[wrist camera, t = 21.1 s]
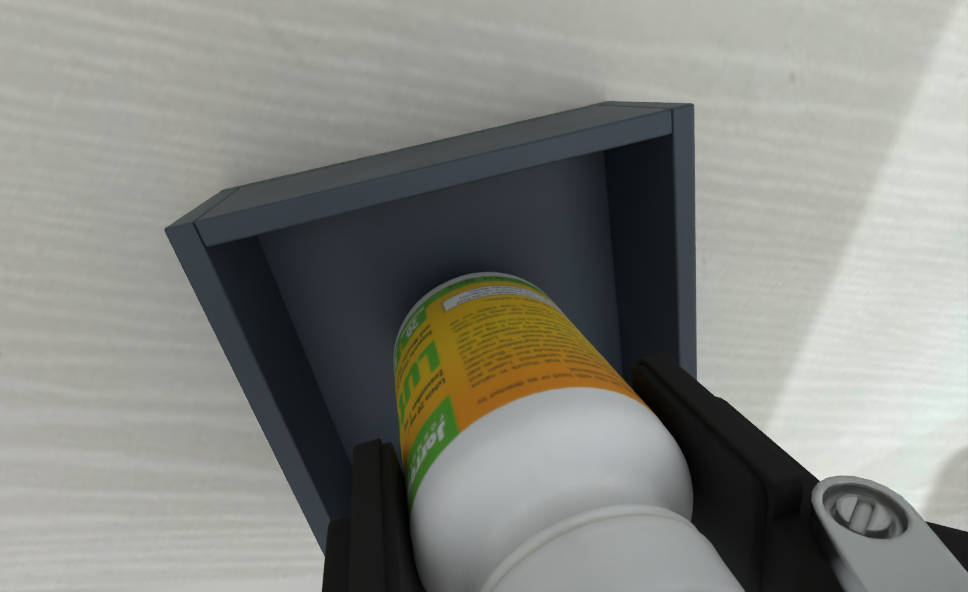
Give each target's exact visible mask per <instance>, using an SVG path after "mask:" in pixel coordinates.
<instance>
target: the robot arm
mask: <svg viewBox="0 0 968 592" xmlns="http://www.w3.org/2000/svg"><path fill="white" fill-rule="evenodd" d="M631 375H632V388H633V391H634V392H635V393H636V394H637V395H638V396H639V397H640V398H641V399H642V400H643V402H644V403H645V404H646V405H647V406H648V407H649V408H650V409H651V410H652V411H653V413H654V414H655V415H656V416H657V417H658V418H659V420H660V421H661V422H662V424H663V425H664V426H665V428H666V429H667V430H668V431H669V433H670V434H671V435H672V436H673V438H674V439H675V441H676V442H677V444H678V446H679V447H680V449H681V451H682V453H683V455H684V457H685V459H686V462H687V465H688V468H689V471H690V475H691V480H692V487H693V511H692V517H691V523H692V524H693V525H694V526H695V527H696V529H697V530H698V531H699V532H700V533H701V534H702V535H704V536H705V537H706V538H707V540H708V541H709V542H710V543H711V544H712V545H713V546H714V548H715V550H716V551H717V553H718V554H719V556H720V557H721V559H722V560H723V562H724V563H725V565H726V566H727V567H728V569H729V570H730V571H731V573H732V574H733V575H734V577H735V578H736V580H737V581H738V582H739V584H740V585H741V586H742V588H743V589H744V591H745V592H968V532H966V531H962V530H958V529H954V528H950V527H946V526H942V525H938V524H934V523H930V522H926V521H924V520H923V519H922V517H921V516H920V515H919V514H918V513H917V511H916V510H915V509H914V508H913V507H912V506H911V505H910V504H909V503H908V502H907V501H906V500H905V499H904V498H903V497H902V496H901V495H899V494H897V493H896V492H894V491H893V490H891V489H889V488H888V487H886V486H884V485H881V484H879V483H876V482H874V481H871V480H868V479H864V478H859V477H855V476H834V477H829V478H826V479H824V480H822V481H819V480H818V479H817V478H816V477H815V476H813V475H812V474H811V473H810V472H809V471H807V470H806V469H805V468H804V467H803V466H802V465H800V464H799V463H798V462H797V461H796V460H795V459H793V458H792V457H791V456H790V455H789V454H788V453H786V452H785V451H784V450H783V449H782V448H780V447H779V446H778V445H777V444H776V443H775V442H773V441H772V440H771V439H770V438H769V437H768V436H766V435H765V434H764V433H763V432H762V431H761V430H759V429H758V428H757V427H756V426H755V425H753V424H752V423H751V422H750V421H749V420H748V419H746V418H745V417H744V416H743V415H742V414H741V413H739V412H738V411H737V410H736V409H735V408H734V407H732V406H731V405H730V404H729V403H728V402H726V401H725V400H723V399H722V398H719V397H715V396H714V395H713V394H712V393H711V392H709V391H708V390H707V389H706V388H705V387H704V386H702V385H701V384H700V383H699V382H698V381H697V380H696V379H694V378H693V377H692V376H691V375H690V374H689V373H687V372H686V371H685V370H684V369H683V368H682V367H680V366H679V365H678V364H677V363H676V362H675V361H674V360H672V359H671V358H670V357H669V356H668V355H667V354H665V353H663V352H660V353H657V354H654V355H650V356H647V357H644V358H640V359H639V360H638V361H637V366H636V367H633V368H632V370H631ZM322 592H426V590H425V589H424V587H423V585H422V583H421V580H420V577H419V574H418V572H417V568H416V564H415V560H414V555H413V547H412V541H411V536H410V531H409V519H408V509H407V499H406V489H405V480H404V475H403V473H402V470H401V467H400V464H399V461H398V458H397V456H396V453H395V450H394V447H393V445H392V443H391V442H388V443H385V444H383V443H382V441H381V439H380V438H378V439H375V440H371V441H368V442H365V443H361V444H358V445H355V446H354V448H353V472H352V501H351V514H350V515H346V516H343V517H340V518H337V519H334V520H331V521H330V523H329V524H328V530H327V540H326V551H325V563H324V574H323V586H322Z"/></svg>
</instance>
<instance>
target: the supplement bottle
mask: <svg viewBox="0 0 968 592" xmlns="http://www.w3.org/2000/svg"><path fill="white" fill-rule="evenodd" d="M393 368H394V381H395V391H396V400H397V410H398V420H399V432H400V445H401V452H402V461H403V471H404V480H405V489H406V499H407V509H408V519H409V531H410V536H411V541H412V547H413V555H414V560H415V564H416V568H417V572H418V574H419V577H420V580H421V583H422V585H423V587H424V589H425V590H426V592H745V591H744V589H743V588H742V586H741V585H740V584H739V582H738V581H737V580H736V578H735V577H734V575H733V574H732V573H731V571H730V570H729V569H728V567H727V566H726V565H725V563H724V562H723V560H722V559H721V557H720V556H719V554H718V553H717V551H716V550H715V548H714V546H713V545H712V544H711V543H710V542H709V541H708V540H707V538H706V537H705V536H704V535H702V534H701V533H700V532H699V531H698V530H697V529H696V527H695V526H694V525H693V524H692V523H691V517H692V511H693V487H692V480H691V475H690V471H689V468H688V465H687V462H686V459H685V457H684V455H683V453H682V451H681V449H680V447H679V446H678V444H677V442H676V441H675V439H674V438H673V436H672V435H671V434H670V433H669V431H668V430H667V429H666V428H665V426H664V425H663V424H662V422H661V421H660V420H659V418H658V417H657V416H656V415H655V414H654V413H653V411H652V410H651V409H650V408H649V407H648V406H647V405H646V404H645V403H644V402H643V400H642V399H641V398H640V397H639V396H638V395H637V394H636V393H635V392H634V391H633V389H632V388H631V387H630V386H629V385H628V384H627V383H626V382H625V381H624V379H623V378H622V377H621V376H620V375H619V374H618V373H617V372H616V371H615V370H614V368H613V367H612V366H611V365H610V364H609V363H608V362H607V361H606V359H605V358H604V357H603V356H602V355H601V354H600V353H599V352H598V351H597V350H596V349H595V348H594V346H593V345H592V344H590V343H589V341H588V340H587V339H586V338H585V337H584V336H583V335H582V333H581V332H580V331H579V330H578V329H577V328H576V327H575V326H574V325H573V324H572V323H571V321H570V320H569V319H568V318H567V317H566V316H565V315H564V313H563V312H562V311H561V310H560V309H559V308H558V306H557V305H556V304H555V303H554V302H553V301H552V300H551V299H550V298H549V297H548V296H547V295H546V294H545V293H544V292H543V291H542V290H540V289H539V288H538V287H536V286H535V285H533V284H532V283H530V282H528V281H526V280H524V279H522V278H519V277H516V276H513V275H509V274H504V273H497V272H479V273H471V274H466V275H462V276H459V277H457V278H454V279H451V280H449V281H447V282H445V283H443V284H441V285H439V286H437V287H435V288H434V289H432V290H431V291H430V292H428V293H427V294H426V295H425V296H423V297H422V298H421V299H420V300H419V301H418V302H417V303H416V304H415V305H414V307H413V308H412V309H411V310H410V312H409V313H408V315H407V316H406V318H405V320H404V321H403V323H402V325H401V327H400V330H399V332H398V335H397V338H396V342H395V347H394V355H393Z"/></svg>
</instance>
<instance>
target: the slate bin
mask: <svg viewBox="0 0 968 592" xmlns="http://www.w3.org/2000/svg"><path fill="white" fill-rule="evenodd" d="M164 230H165V233H166V235H167V237H168V239H169V241H170V243H171V245H172V247H173V249H174V251H175V253H176V255H177V257H178V259H179V261H180V263H181V265H182V267H183V269H184V271H185V273H186V275H187V277H188V279H189V281H190V284H191V286H192V288H193V290H194V292H195V294H196V296H197V298H198V300H199V302H200V304H201V306H202V308H203V310H204V312H205V314H206V316H207V318H208V320H209V322H210V324H211V326H212V328H213V330H214V332H215V334H216V336H217V338H218V340H219V342H220V345H221V347H222V349H223V351H224V353H225V355H226V357H227V359H228V361H229V363H230V365H231V367H232V369H233V371H234V373H235V375H236V377H237V379H238V381H239V383H240V385H241V387H242V389H243V391H244V393H245V395H246V397H247V399H248V401H249V403H250V406H251V408H252V410H253V412H254V414H255V416H256V418H257V420H258V422H259V424H260V426H261V428H262V430H263V432H264V434H265V436H266V438H267V440H268V442H269V444H270V446H271V448H272V450H273V452H274V454H275V456H276V458H277V460H278V462H279V464H280V467H281V469H282V471H283V473H284V475H285V477H286V479H287V481H288V483H289V485H290V487H291V489H292V491H293V493H294V495H295V497H296V499H297V501H298V503H299V505H300V507H301V509H302V511H303V513H304V515H305V517H306V519H307V521H308V523H309V525H310V528H311V530H312V532H313V534H314V536H315V538H316V540H317V542H318V544H319V546H320V548H321V550H322V552H323V554H324V556H325V551H326V540H327V530H328V524H329V523H330V521H331V520H334V519H337V518H340V517H343V516H346V515H350V514H351V501H352V472H353V448H354V446H355V445H358V444H361V443H365V442H368V441H371V440H375V439H378V438H380V439H381V441H382V443H383V444H385V443H388V442H391V443H392V445H393V447H394V450H395V453H396V456H397V458H398V461H399V464H400V467H401V470H402V473H403V475H404V471H403V461H402V452H401V445H400V432H399V420H398V410H397V400H396V391H395V381H394V368H393V355H394V347H395V342H396V338H397V335H398V332H399V330H400V327H401V325H402V323H403V321H404V320H405V318H406V316H407V315H408V313H409V312H410V310H411V309H412V308H413V307H414V305H415V304H416V303H417V302H418V301H419V300H420V299H421V298H422V297H423V296H425V295H426V294H427V293H428V292H430V291H431V290H432V289H434V288H435V287H437V286H439V285H441V284H443V283H445V282H447V281H449V280H451V279H454V278H457V277H459V276H462V275H466V274H471V273H479V272H497V273H504V274H509V275H513V276H516V277H519V278H522V279H524V280H526V281H528V282H530V283H532V284H533V285H535V286H536V287H538V288H539V289H540V290H542V291H543V292H544V293H545V294H546V295H547V296H548V297H549V298H550V299H551V300H552V301H553V302H554V303H555V304H556V305H557V306H558V308H559V309H560V310H561V311H562V312H563V313H564V315H565V316H566V317H567V318H568V319H569V320H570V321H571V323H572V324H573V325H574V326H575V327H576V328H577V329H578V330H579V331H580V332H581V333H582V335H583V336H584V337H585V338H586V339H587V340H588V341H589V343H590V344H592V345H593V346H594V348H595V349H596V350H597V351H598V352H599V353H600V354H601V355H602V356H603V357H604V358H605V359H606V361H607V362H608V363H609V364H610V365H611V366H612V367H613V368H614V370H615V371H616V372H617V373H618V374H619V375H620V376H621V377H622V378H623V379H624V381H625V382H626V383H627V384H628V385H629V386H630V387H631V388H632V375H631V370H632V368H633V367H636V366H637V361H638V360H639V359H640V358H644V357H647V356H650V355H654V354H657V353H660V352H663V353H665V354H667V355H668V356H669V357H670V358H671V359H672V360H674V361H675V362H676V363H677V364H678V365H679V366H680V367H682V368H683V369H684V370H685V371H686V372H687V373H689V374H690V375H691V376H692V377H693V378H694V379H696V380H697V347H696V245H695V142H694V104H691V103H657V102H619V101H607V102H603V103H598V104H594V105H590V106H585V107H581V108H577V109H572V110H568V111H564V112H559V113H555V114H551V115H546V116H542V117H538V118H533V119H529V120H525V121H520V122H516V123H512V124H507V125H503V126H499V127H494V128H490V129H486V130H481V131H477V132H473V133H468V134H464V135H460V136H455V137H451V138H447V139H442V140H438V141H434V142H429V143H425V144H421V145H416V146H412V147H408V148H403V149H399V150H395V151H390V152H386V153H382V154H377V155H373V156H369V157H364V158H360V159H356V160H351V161H347V162H342V163H338V164H334V165H329V166H325V167H321V168H316V169H312V170H308V171H303V172H299V173H295V174H290V175H286V176H282V177H277V178H273V179H269V180H264V181H260V182H256V183H251V184H247V185H243V186H238V187H234V188H230V189H225V190H222V191H220V192H219V193H218V194H216V195H214V196H213V197H211V198H210V199H208V200H207V201H205V202H204V203H202V204H201V205H199V206H198V207H196V208H195V209H193V210H192V211H190V212H189V213H187V214H186V215H184V216H183V217H181V218H180V219H178V220H177V221H175V222H174V223H172V224H171V225H169V226H168V227H166V228H165V229H164ZM632 389H633V388H632Z"/></svg>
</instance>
